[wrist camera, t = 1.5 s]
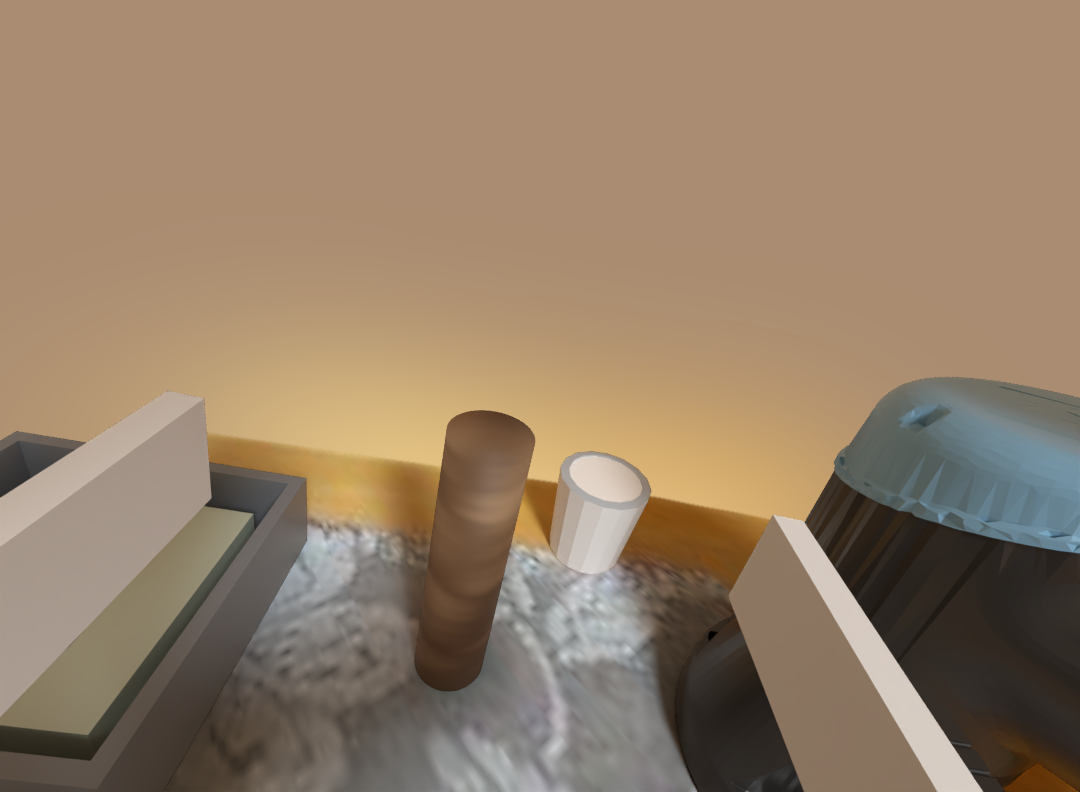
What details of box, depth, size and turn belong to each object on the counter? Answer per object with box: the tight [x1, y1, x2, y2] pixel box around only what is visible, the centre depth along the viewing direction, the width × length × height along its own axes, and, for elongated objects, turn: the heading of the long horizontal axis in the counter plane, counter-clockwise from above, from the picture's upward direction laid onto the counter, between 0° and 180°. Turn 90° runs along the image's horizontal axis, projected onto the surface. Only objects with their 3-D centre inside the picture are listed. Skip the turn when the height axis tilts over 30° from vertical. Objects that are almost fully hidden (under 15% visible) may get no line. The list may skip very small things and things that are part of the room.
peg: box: [415, 410, 535, 691], centre depth 27 cm, size 4×4×16 cm
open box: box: [0, 431, 307, 792], centre depth 26 cm, size 18×18×6 cm
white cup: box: [550, 451, 651, 574], centre depth 39 cm, size 7×7×7 cm
